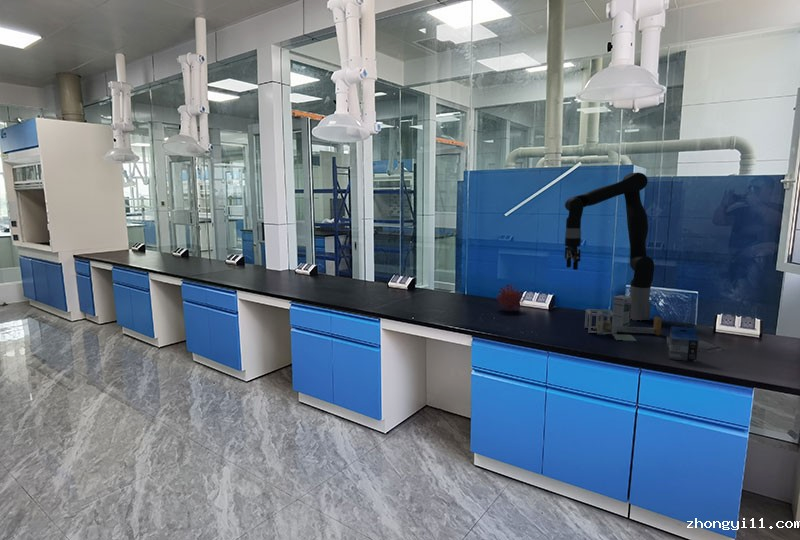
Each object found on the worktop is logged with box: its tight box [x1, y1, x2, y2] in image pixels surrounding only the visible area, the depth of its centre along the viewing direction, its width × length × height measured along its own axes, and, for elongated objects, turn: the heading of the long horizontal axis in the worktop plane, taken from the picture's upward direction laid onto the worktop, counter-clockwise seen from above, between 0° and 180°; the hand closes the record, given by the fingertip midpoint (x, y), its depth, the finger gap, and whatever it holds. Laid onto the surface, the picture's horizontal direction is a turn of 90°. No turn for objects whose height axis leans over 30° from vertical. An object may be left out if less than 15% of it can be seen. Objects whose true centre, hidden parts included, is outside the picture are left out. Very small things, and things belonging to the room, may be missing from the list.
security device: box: [666, 335, 723, 352], centre depth 191 cm, size 17×22×2 cm
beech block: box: [596, 319, 612, 332], centre depth 211 cm, size 5×5×5 cm
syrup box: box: [612, 294, 631, 327], centre depth 222 cm, size 6×6×14 cm
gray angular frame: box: [584, 308, 618, 335], centre depth 211 cm, size 12×10×10 cm
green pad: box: [611, 333, 637, 342], centre depth 201 cm, size 8×8×1 cm
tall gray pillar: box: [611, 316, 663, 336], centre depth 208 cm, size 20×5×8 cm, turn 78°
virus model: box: [496, 284, 525, 313], centre depth 250 cm, size 15×15×15 cm
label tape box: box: [667, 326, 699, 362], centre depth 173 cm, size 9×4×12 cm, turn 69°
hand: (571, 268), depth 233 cm, fingers open, 8 cm apart
